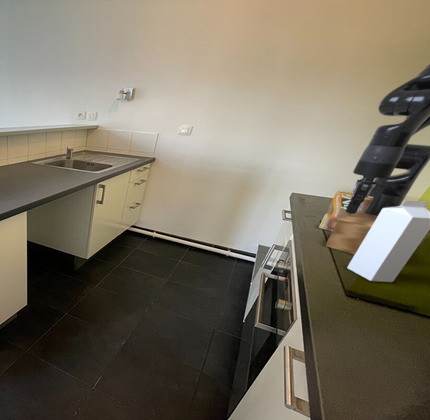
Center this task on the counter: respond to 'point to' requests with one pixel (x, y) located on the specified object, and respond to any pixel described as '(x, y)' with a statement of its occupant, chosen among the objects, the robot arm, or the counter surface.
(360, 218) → the lid
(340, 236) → the bread box
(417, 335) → the counter surface
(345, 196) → the candy box
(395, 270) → the milk
